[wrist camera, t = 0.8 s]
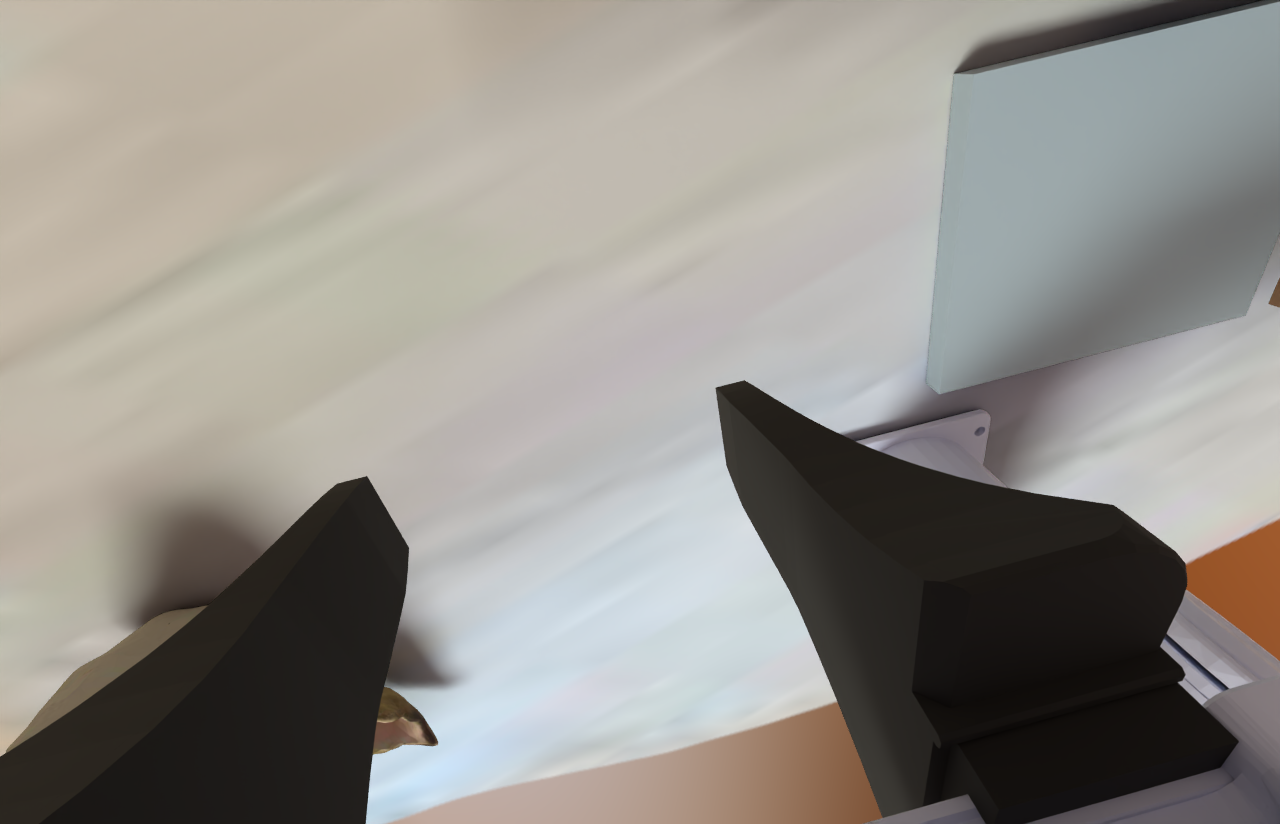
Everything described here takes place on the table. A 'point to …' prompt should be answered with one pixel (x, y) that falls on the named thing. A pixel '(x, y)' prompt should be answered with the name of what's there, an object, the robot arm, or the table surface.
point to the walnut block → (1276, 296)
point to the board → (1107, 195)
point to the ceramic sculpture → (395, 713)
